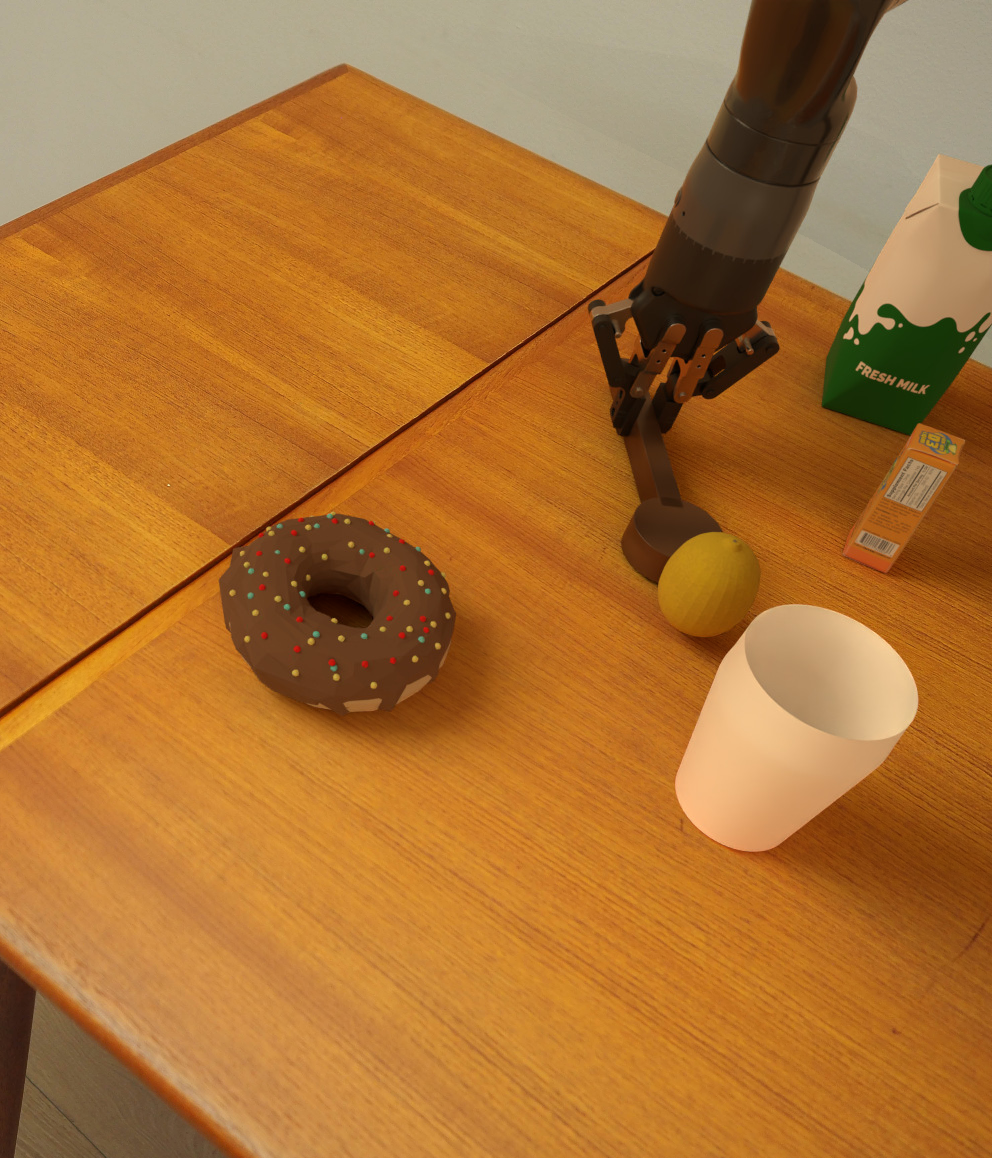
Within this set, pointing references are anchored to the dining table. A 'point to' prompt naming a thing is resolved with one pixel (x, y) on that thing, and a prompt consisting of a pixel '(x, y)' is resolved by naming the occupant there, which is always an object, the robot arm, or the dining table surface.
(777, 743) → the cup
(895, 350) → the milk carton
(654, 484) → the wooden spoon
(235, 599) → the donut
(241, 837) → the dining table surface
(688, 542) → the lemon
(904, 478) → the supplement box
